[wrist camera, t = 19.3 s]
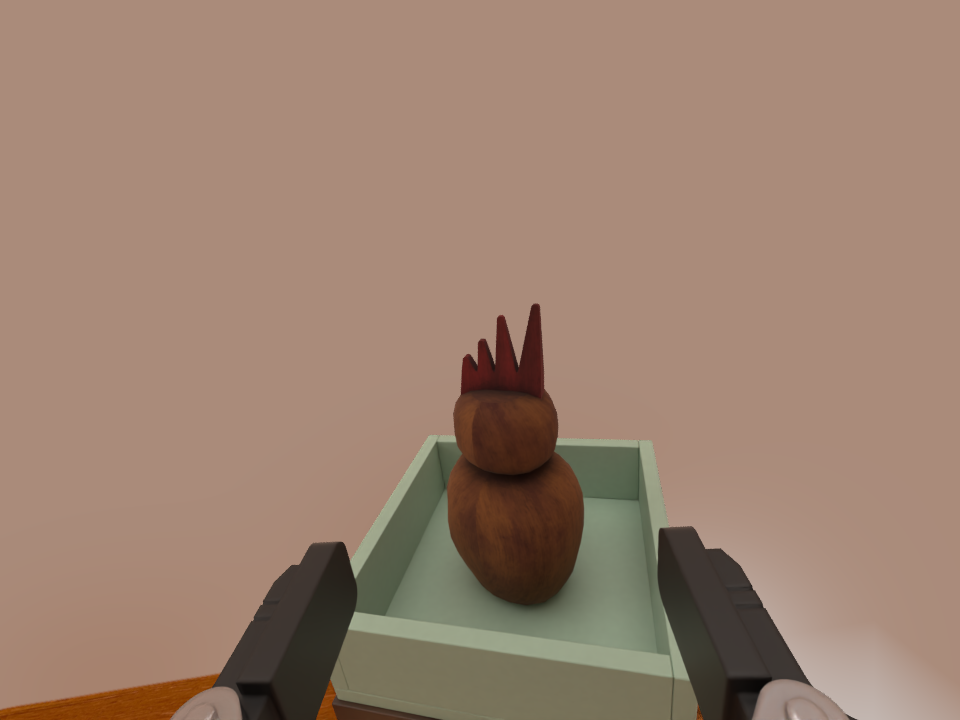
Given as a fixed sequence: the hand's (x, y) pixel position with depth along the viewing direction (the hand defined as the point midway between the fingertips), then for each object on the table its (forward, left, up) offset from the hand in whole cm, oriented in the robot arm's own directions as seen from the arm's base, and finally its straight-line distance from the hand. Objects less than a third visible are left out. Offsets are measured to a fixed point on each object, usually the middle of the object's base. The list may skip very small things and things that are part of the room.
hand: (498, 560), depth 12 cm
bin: (+2, -10, -12) cm, 15 cm away
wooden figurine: (+2, -10, -11) cm, 15 cm away
